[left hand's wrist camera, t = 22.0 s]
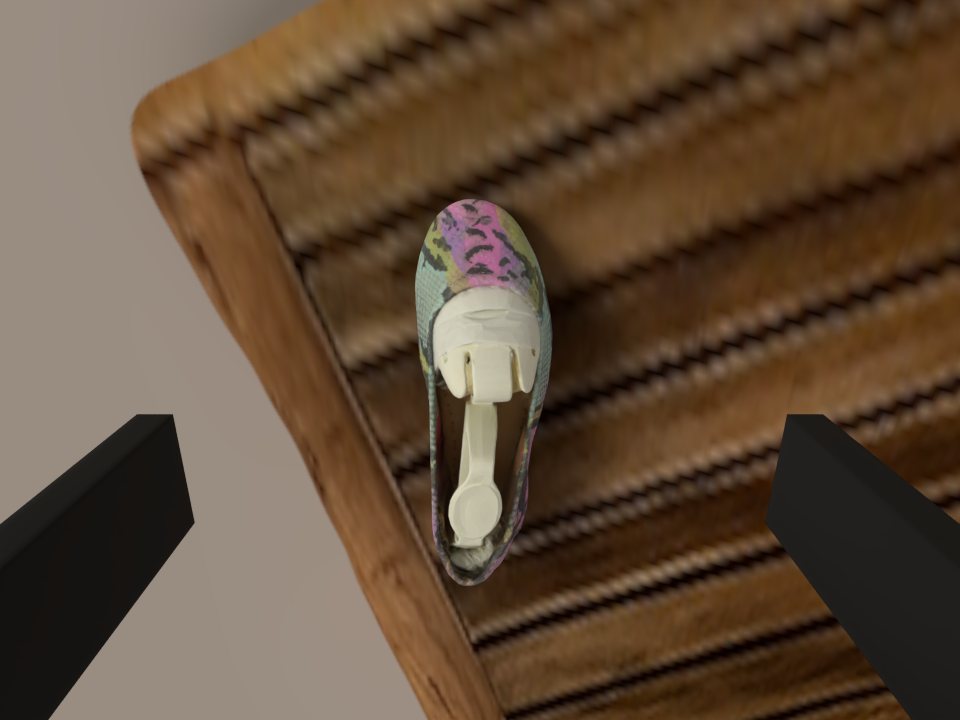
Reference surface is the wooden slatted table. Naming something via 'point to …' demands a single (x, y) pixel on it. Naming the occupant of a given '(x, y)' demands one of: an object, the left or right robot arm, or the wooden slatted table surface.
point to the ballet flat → (480, 379)
